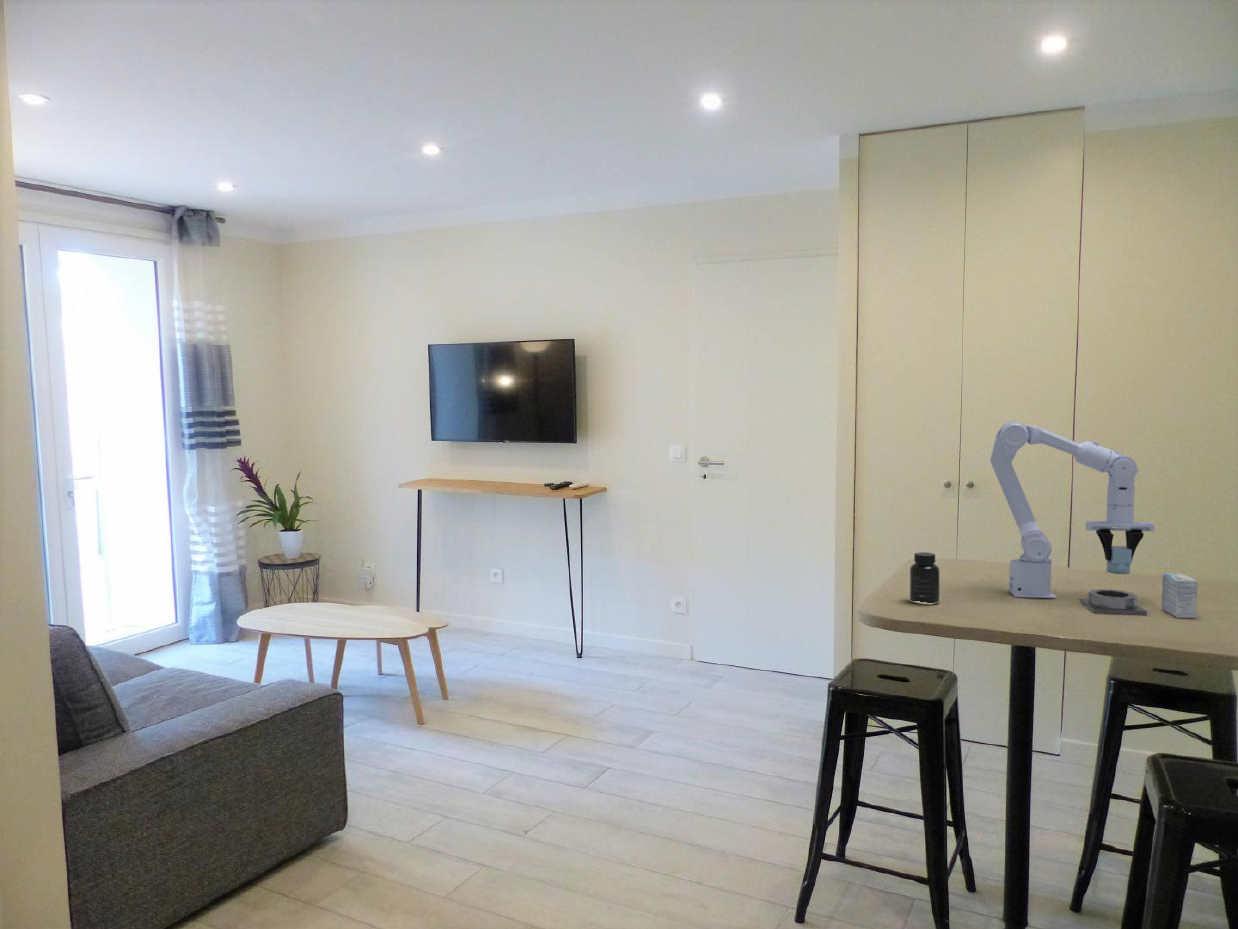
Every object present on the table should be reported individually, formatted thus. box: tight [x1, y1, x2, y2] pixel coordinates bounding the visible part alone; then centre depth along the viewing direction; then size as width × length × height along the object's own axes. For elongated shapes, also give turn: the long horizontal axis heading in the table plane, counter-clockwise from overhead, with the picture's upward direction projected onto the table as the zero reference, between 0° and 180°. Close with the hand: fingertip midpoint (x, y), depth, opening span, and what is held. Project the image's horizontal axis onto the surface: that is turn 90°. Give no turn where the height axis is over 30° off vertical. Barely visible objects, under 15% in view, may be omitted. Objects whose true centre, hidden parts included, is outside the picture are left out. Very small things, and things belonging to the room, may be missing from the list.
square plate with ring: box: [1078, 588, 1148, 616], centre depth 205 cm, size 11×11×4 cm
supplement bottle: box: [909, 551, 940, 603], centre depth 213 cm, size 7×7×12 cm
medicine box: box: [1161, 573, 1199, 619], centre depth 199 cm, size 8×4×9 cm, turn 168°
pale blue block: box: [1106, 545, 1133, 575], centre depth 212 cm, size 5×5×6 cm
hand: (1118, 560), depth 212 cm, fingers closed on pale blue block, 4 cm apart
